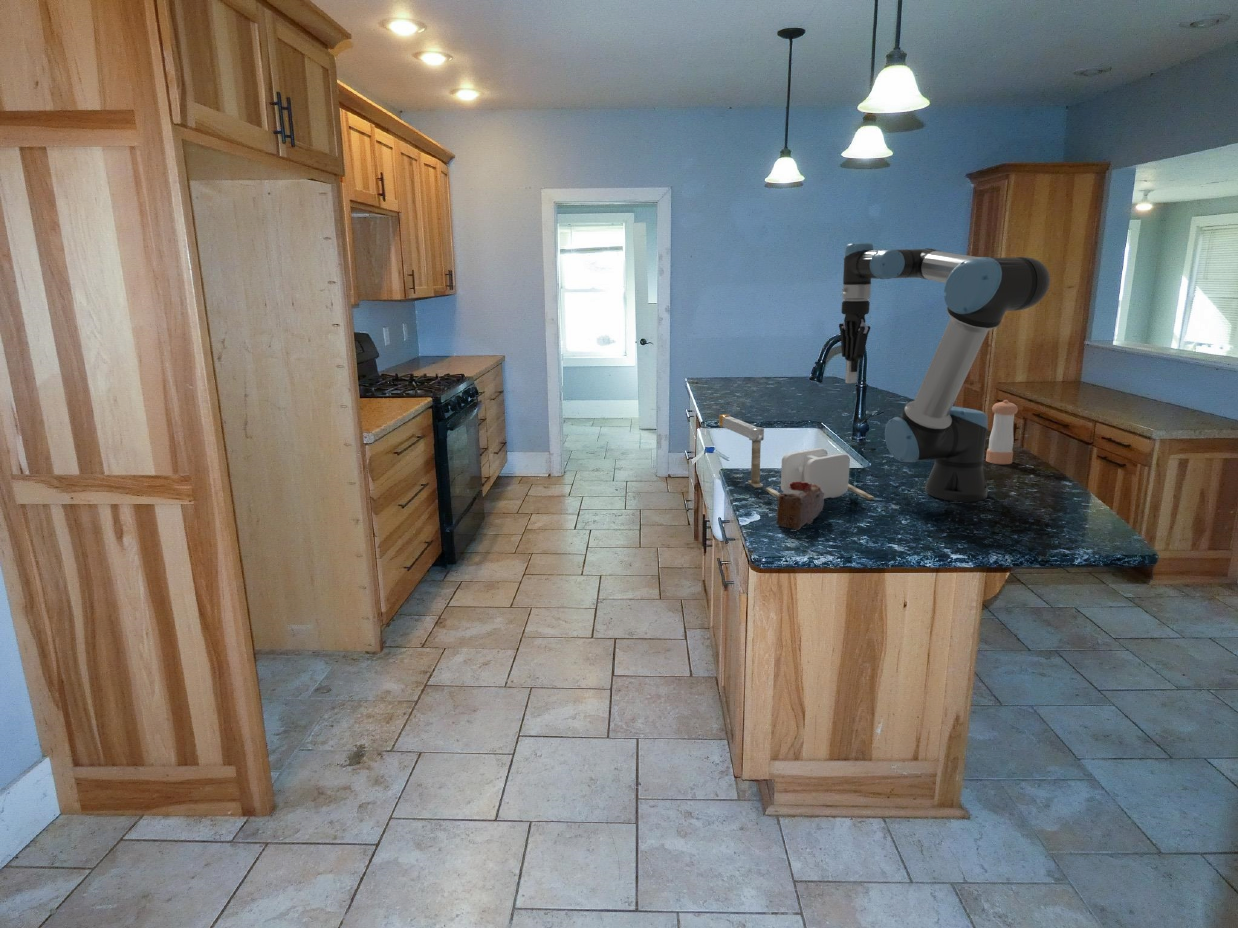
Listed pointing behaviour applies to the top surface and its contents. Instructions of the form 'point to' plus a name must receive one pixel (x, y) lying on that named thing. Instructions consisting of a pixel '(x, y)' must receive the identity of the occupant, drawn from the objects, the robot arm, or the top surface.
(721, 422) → the gold knob lever
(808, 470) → the cable organizer
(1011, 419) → the pepper shaker
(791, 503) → the food item
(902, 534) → the top surface
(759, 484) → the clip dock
